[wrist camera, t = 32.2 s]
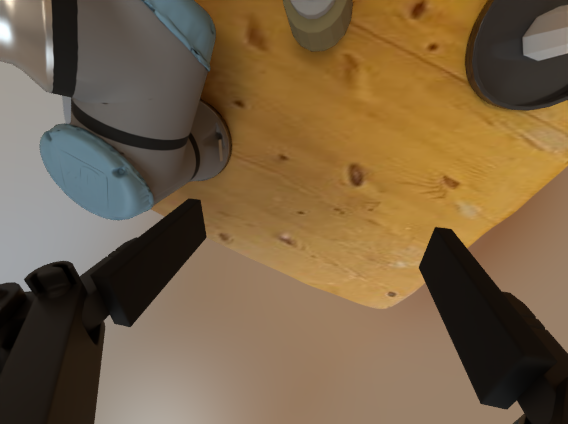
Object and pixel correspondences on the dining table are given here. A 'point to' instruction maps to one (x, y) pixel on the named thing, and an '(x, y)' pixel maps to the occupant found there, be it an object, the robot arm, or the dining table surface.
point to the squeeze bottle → (318, 21)
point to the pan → (513, 58)
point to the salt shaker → (547, 35)
